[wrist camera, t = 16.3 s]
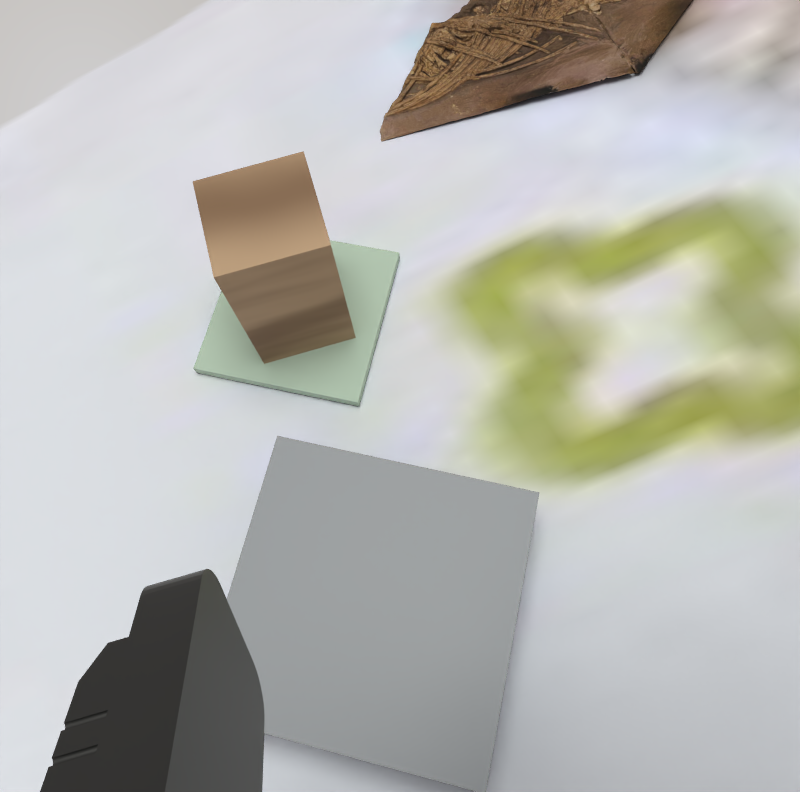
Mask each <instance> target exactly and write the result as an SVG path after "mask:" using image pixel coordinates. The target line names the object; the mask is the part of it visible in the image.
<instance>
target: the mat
mask: <svg viewBox="0 0 800 792" xmlns="http://www.w3.org/2000/svg"><path fill="white" fill-rule="evenodd" d="M330 243H331V247H332V251H333V255H334V258H335V262H336V266H337V269H338V273H339V277H340V281H341V284H342V288H343V292H344V295H345V299H346V303H347V307H348V310H349V314H350V318H351V322H352V325H353V329H354V333H355V336H356V338H354V339H350V340H347V341H343V342H339V343H336V344H332V345H329V346H325V347H322V348H318V349H315V350H311V351H308V352H304V353H301V354H297V355H294V356H290V357H287V358H283V359H280V360H276V361H273V362H269V363H265V364H264V363H263V361H262V359H261V358H260V356H259V354H258V352H257V351H256V349H255V347H254V345H253V344H252V342H251V340H250V339H249V337H248V335H247V333H246V332H245V330H244V328H243V327H242V325H241V323H240V321H239V320H238V318H237V316H236V315H235V313H234V311H233V309H232V308H231V306H230V304H229V303H228V301H227V299H226V297H225V296H224V294H223V292H222V291H221V294H220V296H219V299H218V302H217V305H216V307H215V310H214V313H213V316H212V319H211V321H210V324H209V327H208V330H207V332H206V335H205V338H204V341H203V343H202V346H201V349H200V352H199V354H198V357H197V360H196V363H195V365H194V370H195V371H196V372H197V373H200V374H205V375H210V376H215V377H220V378H225V379H229V380H234V381H239V382H244V383H249V384H253V385H258V386H263V387H268V388H273V389H278V390H282V391H287V392H292V393H297V394H302V395H306V396H311V397H316V398H321V399H326V400H331V401H335V402H340V403H345V404H350V405H355V406H359V405H360V402H361V398H362V394H363V391H364V387H365V383H366V380H367V376H368V372H369V369H370V365H371V361H372V358H373V354H374V350H375V347H376V343H377V340H378V336H379V332H380V329H381V325H382V321H383V318H384V314H385V310H386V307H387V303H388V299H389V296H390V292H391V288H392V285H393V281H394V277H395V274H396V270H397V267H398V263H399V259H400V256H399V253H398V252H393V251H387V250H381V249H376V248H370V247H364V246H359V245H353V244H347V243H342V242H336V241H330Z"/></svg>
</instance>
